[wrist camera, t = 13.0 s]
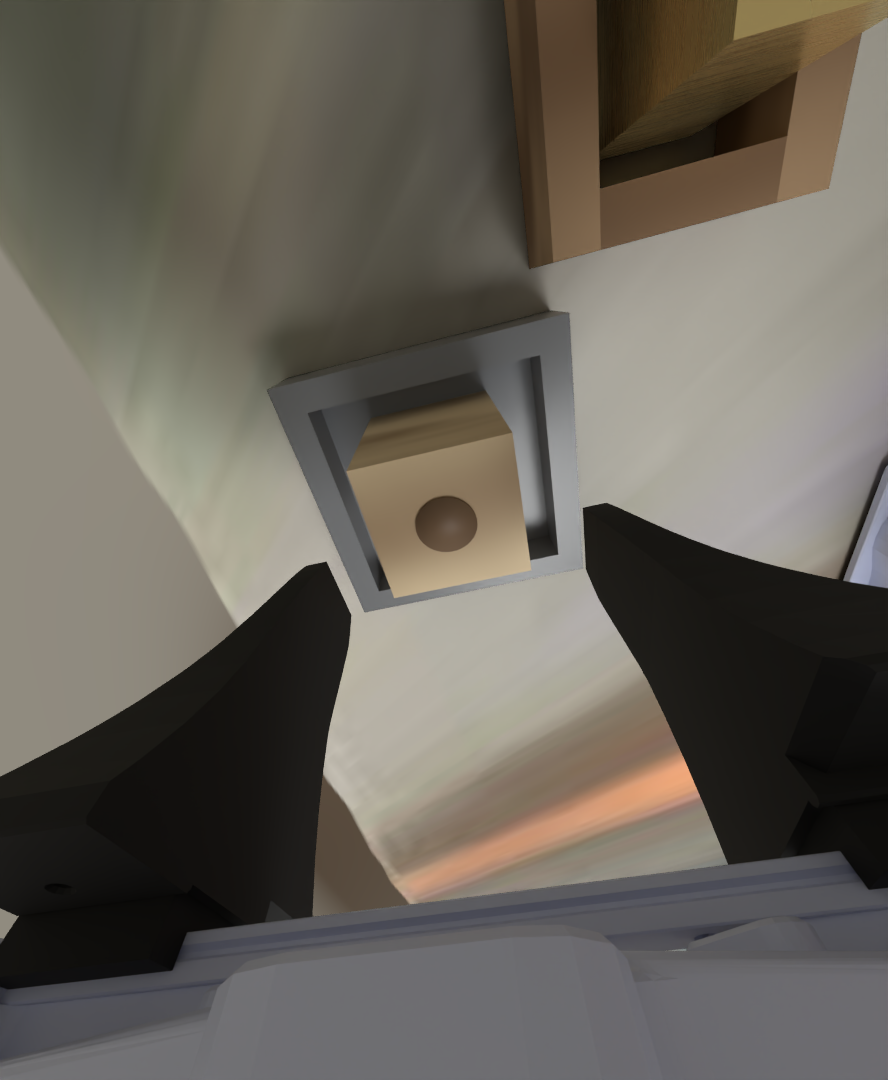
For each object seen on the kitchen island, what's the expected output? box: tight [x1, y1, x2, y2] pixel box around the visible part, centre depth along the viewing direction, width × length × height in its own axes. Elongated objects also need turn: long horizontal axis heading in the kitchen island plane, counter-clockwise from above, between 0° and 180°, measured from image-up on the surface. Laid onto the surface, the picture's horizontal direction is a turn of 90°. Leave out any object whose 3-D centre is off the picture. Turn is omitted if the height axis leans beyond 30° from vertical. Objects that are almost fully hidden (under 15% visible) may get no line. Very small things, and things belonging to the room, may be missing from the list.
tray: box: [267, 311, 583, 612], centre depth 16 cm, size 10×10×2 cm
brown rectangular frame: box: [504, 0, 862, 269], centre depth 10 cm, size 7×7×3 cm
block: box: [346, 390, 531, 598], centre depth 14 cm, size 4×4×6 cm
